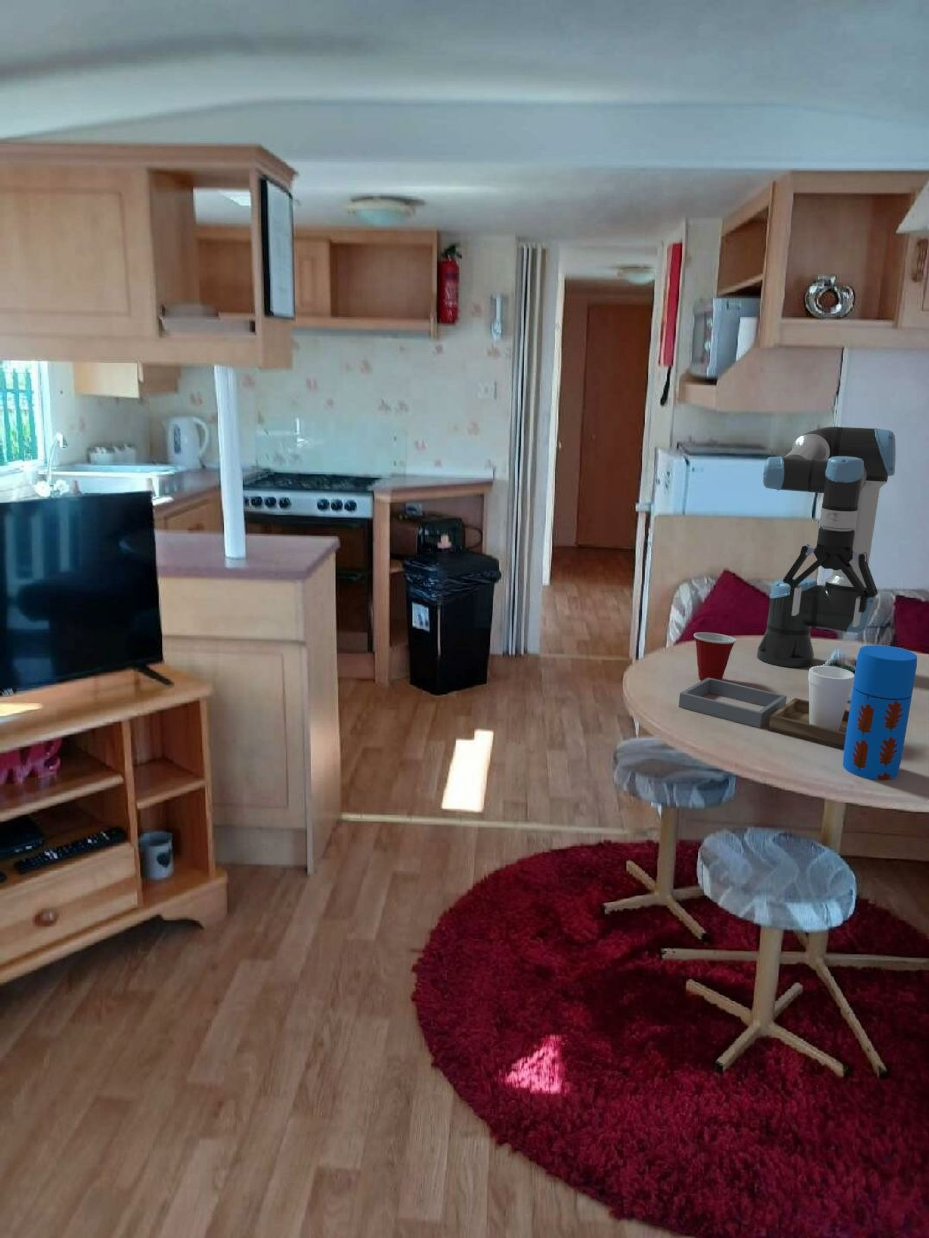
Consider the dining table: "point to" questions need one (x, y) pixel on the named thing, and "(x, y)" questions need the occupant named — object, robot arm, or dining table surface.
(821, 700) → the foam cup
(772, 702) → the bin
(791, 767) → the dining table surface
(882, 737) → the thermos
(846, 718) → the bin
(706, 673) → the plastic cup
